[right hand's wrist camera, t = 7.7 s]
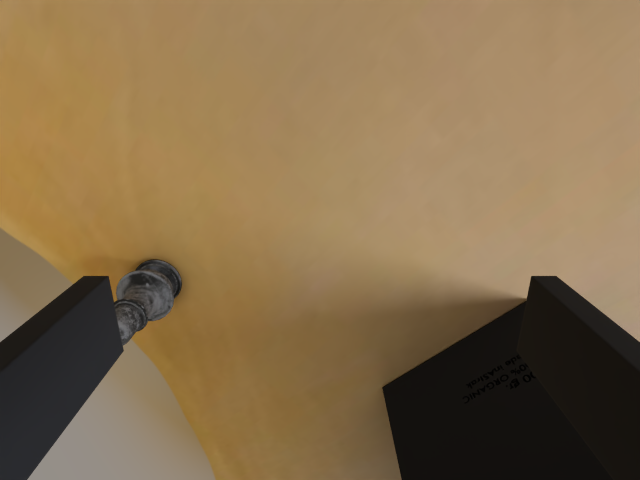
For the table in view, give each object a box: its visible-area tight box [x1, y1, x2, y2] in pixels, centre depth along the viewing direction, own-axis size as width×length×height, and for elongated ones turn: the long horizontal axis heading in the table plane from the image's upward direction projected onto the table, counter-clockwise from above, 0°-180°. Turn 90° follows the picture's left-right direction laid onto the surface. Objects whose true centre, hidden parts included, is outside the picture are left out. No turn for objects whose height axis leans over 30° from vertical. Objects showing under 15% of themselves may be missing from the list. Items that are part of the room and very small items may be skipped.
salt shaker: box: [114, 260, 182, 345], centre depth 40 cm, size 6×6×12 cm
